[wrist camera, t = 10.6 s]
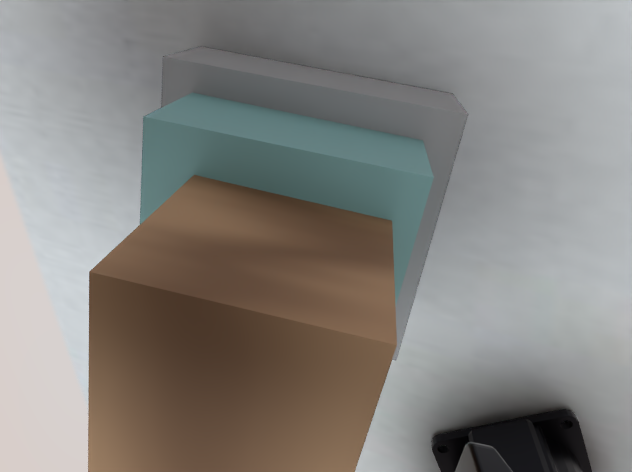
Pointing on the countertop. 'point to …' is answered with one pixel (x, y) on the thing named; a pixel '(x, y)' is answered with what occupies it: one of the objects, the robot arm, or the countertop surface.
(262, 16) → the countertop surface
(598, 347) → the countertop surface
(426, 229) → the slate block
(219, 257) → the walnut cube
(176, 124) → the teal block
